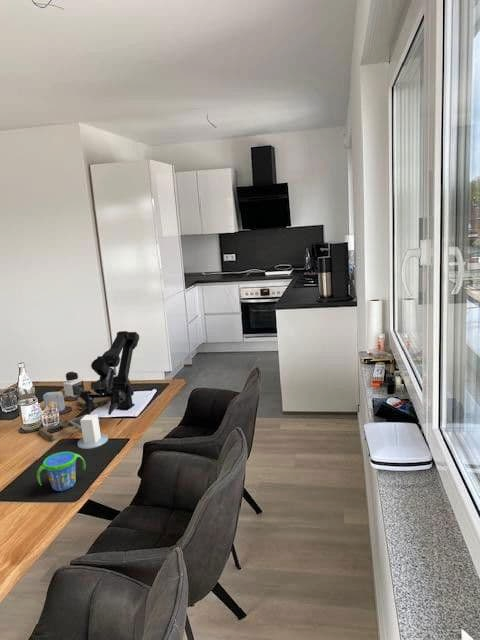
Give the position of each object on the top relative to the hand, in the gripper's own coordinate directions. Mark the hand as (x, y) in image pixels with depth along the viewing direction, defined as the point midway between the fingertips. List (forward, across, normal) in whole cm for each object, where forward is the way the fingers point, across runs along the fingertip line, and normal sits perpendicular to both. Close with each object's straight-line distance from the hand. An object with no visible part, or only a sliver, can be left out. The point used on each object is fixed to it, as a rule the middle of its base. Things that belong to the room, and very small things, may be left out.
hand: (98, 414), depth 203 cm
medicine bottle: (-26, -35, +38) cm, 58 cm away
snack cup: (+34, +5, -23) cm, 41 cm away
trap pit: (-1, -12, +12) cm, 18 cm away
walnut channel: (+6, -20, +5) cm, 22 cm away
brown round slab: (-18, -19, +30) cm, 40 cm away
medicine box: (-11, -35, +23) cm, 43 cm away
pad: (+11, 0, 0) cm, 11 cm away
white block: (+11, 0, 0) cm, 11 cm away
